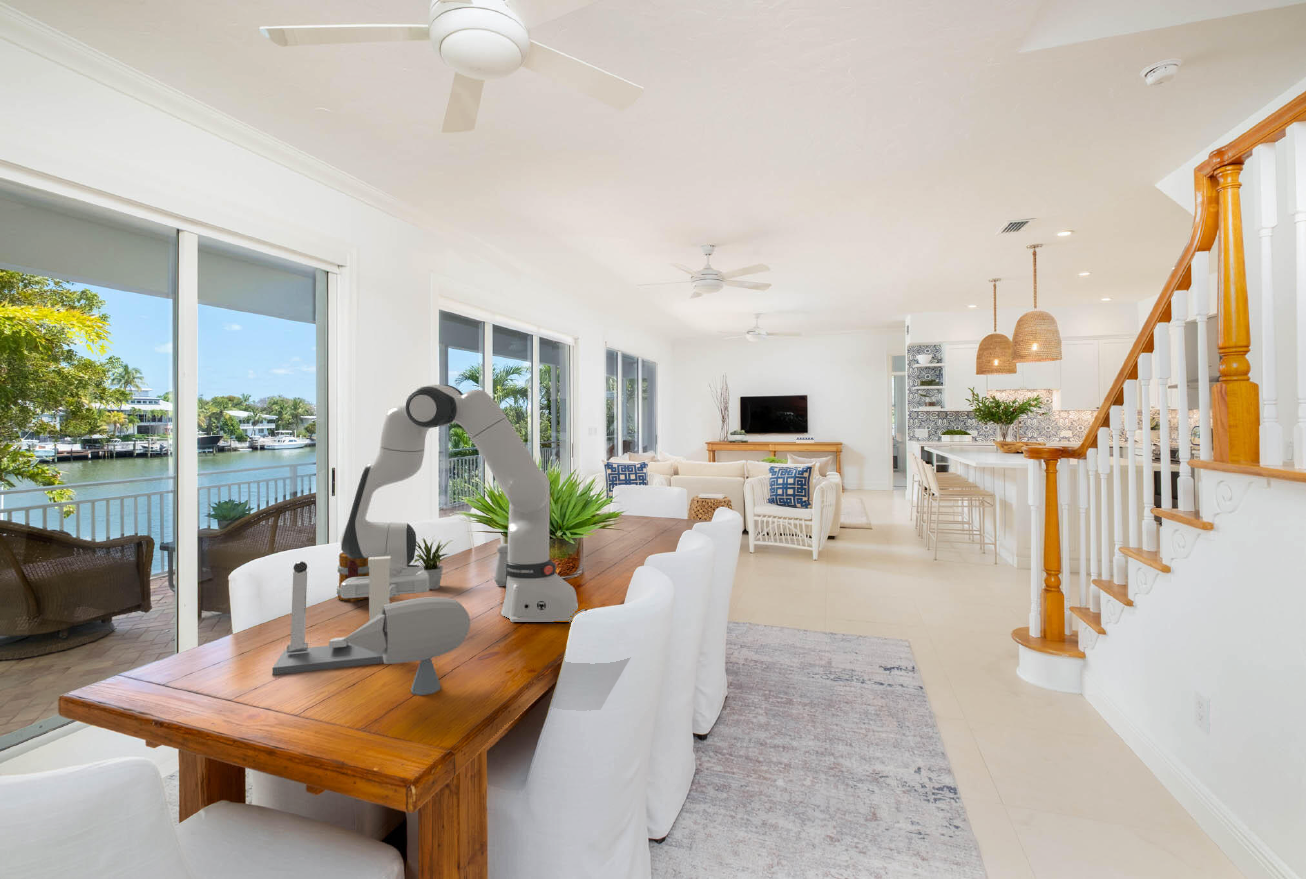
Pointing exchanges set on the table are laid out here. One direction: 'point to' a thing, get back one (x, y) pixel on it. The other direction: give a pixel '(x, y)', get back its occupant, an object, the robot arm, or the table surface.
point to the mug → (351, 572)
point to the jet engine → (415, 635)
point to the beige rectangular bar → (378, 584)
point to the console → (325, 659)
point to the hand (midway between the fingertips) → (383, 593)
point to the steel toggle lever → (298, 609)
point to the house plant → (431, 563)
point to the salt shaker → (501, 565)
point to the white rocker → (337, 642)
